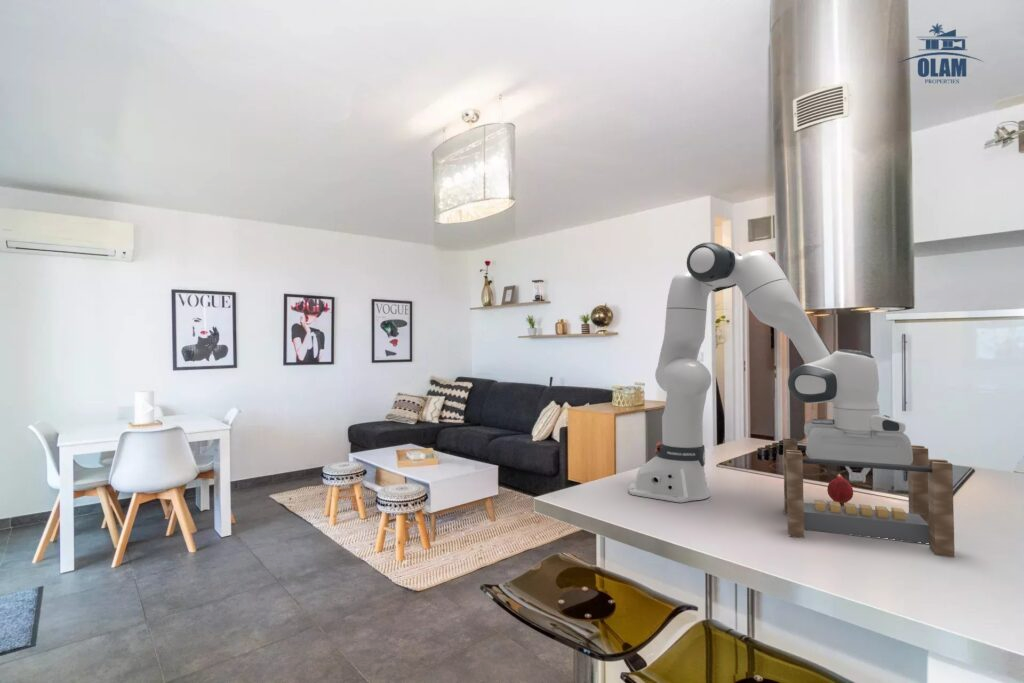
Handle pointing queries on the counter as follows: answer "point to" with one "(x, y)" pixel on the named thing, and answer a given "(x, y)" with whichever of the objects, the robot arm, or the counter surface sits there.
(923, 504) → the cord posts
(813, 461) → the rod
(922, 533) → the breaker strip
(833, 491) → the onion
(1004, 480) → the counter surface
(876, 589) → the counter surface
